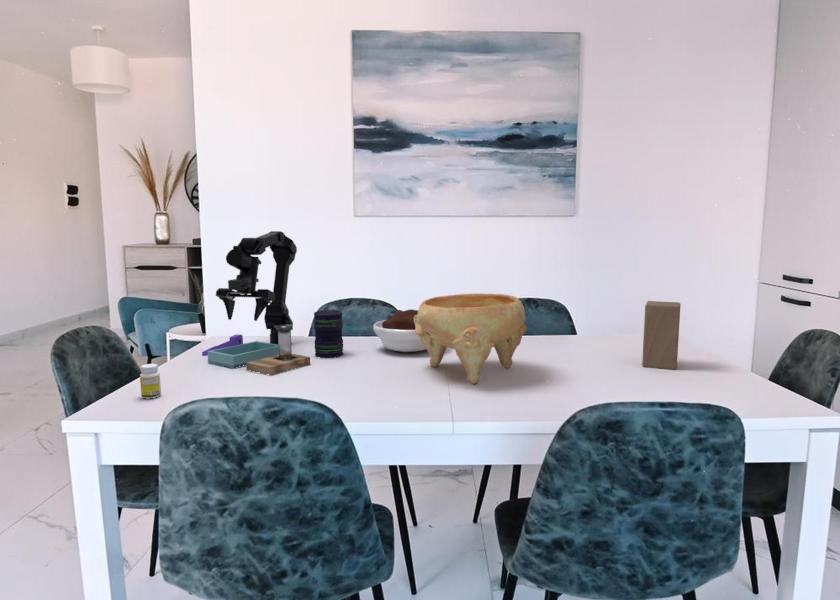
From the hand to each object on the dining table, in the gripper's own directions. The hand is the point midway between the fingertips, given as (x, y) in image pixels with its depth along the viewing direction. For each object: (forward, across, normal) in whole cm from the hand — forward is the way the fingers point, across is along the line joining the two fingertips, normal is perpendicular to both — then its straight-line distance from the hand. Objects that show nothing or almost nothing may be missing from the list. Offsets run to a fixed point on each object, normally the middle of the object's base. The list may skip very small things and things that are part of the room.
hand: (242, 320), depth 187 cm
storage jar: (+8, +24, +18) cm, 32 cm away
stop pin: (+14, +16, +2) cm, 21 cm away
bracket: (+10, -13, +14) cm, 22 cm away
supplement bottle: (+27, -4, -34) cm, 43 cm away
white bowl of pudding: (+4, +49, +31) cm, 58 cm away
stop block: (+15, +15, 0) cm, 21 cm away
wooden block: (+6, +134, +26) cm, 136 cm away
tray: (+12, 0, +7) cm, 14 cm away
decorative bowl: (+12, +74, +7) cm, 76 cm away
